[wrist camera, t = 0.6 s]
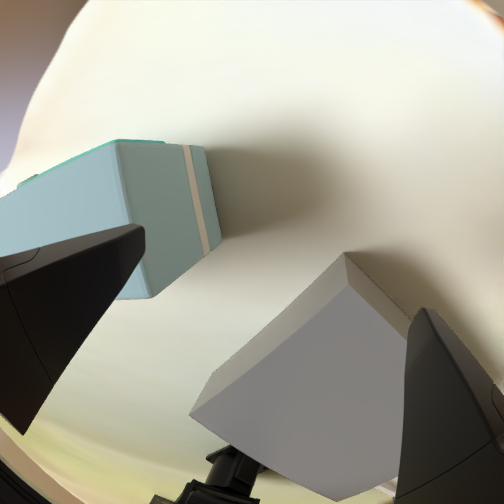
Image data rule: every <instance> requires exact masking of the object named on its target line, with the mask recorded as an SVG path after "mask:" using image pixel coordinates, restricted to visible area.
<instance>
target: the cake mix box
mask: <svg viewBox="0 0 504 504" xmlns="http://www.w3.org/2000/svg"><path fill="white" fill-rule="evenodd" d="M150 504H174V502H172V501H169V500H167V499H165V498H162V497H160V496H158V495H154V497H153V498H152V500H151V502H150Z"/></svg>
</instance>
